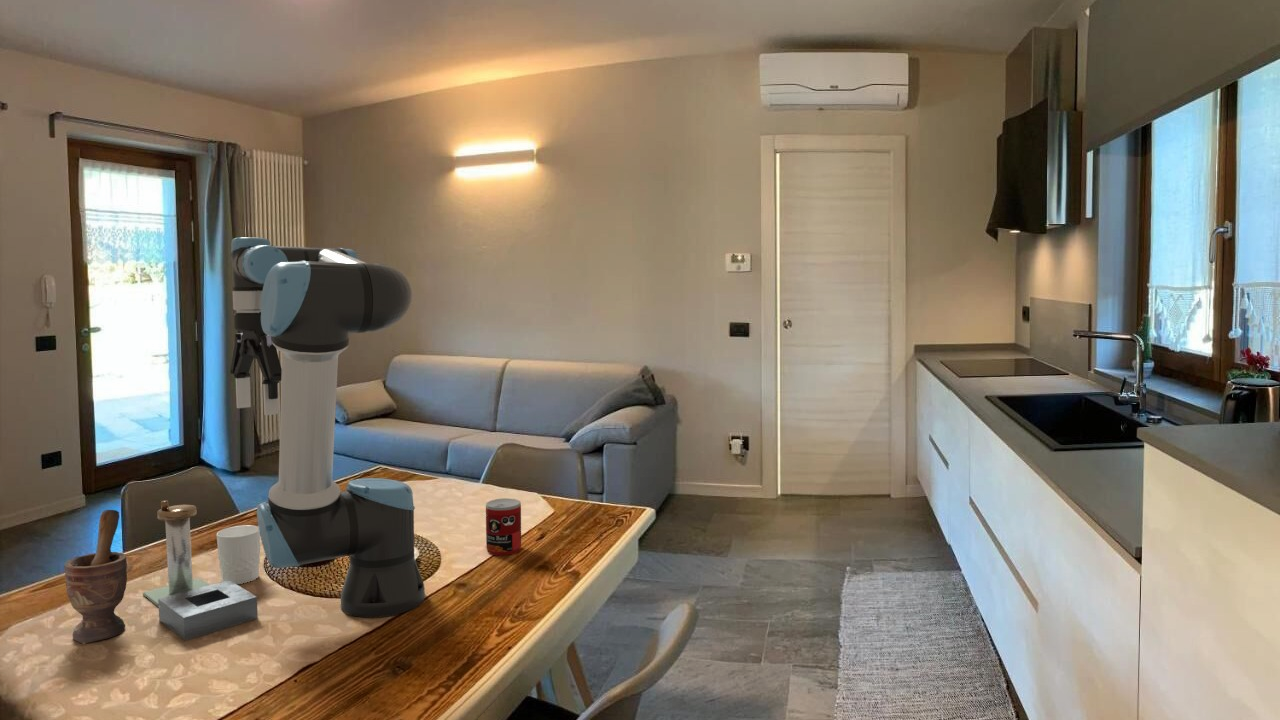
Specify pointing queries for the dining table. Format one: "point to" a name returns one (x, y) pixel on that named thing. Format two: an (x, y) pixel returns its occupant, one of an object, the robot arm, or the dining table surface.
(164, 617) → the block
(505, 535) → the canned food
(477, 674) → the dining table surface
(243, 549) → the white cup
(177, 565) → the steel peg
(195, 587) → the mat
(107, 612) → the mortar and pestle
